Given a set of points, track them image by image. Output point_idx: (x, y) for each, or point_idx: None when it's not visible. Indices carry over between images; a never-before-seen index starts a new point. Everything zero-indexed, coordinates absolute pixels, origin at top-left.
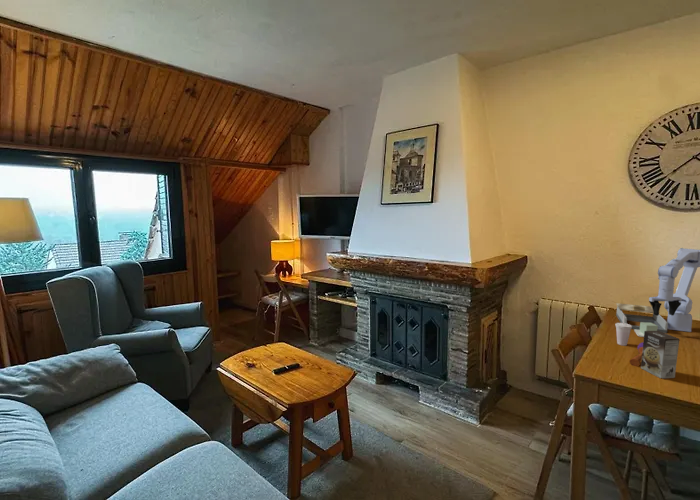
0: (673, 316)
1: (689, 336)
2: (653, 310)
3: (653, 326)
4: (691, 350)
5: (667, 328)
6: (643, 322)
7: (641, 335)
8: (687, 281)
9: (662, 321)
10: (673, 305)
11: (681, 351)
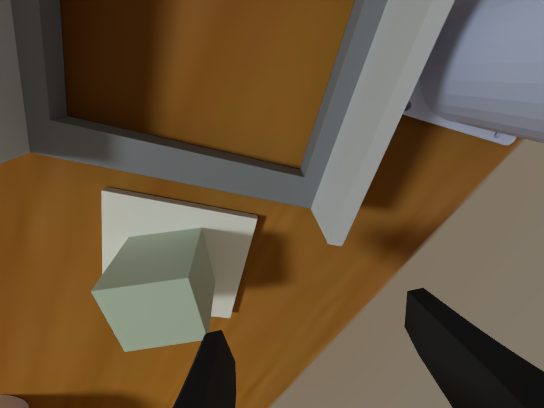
0: (532, 118)
1: (412, 231)
2: (185, 393)
3: (178, 337)
4: (277, 389)
5: None
6: (119, 290)
7: None
8: None
9: (363, 133)
10: None
11: None
